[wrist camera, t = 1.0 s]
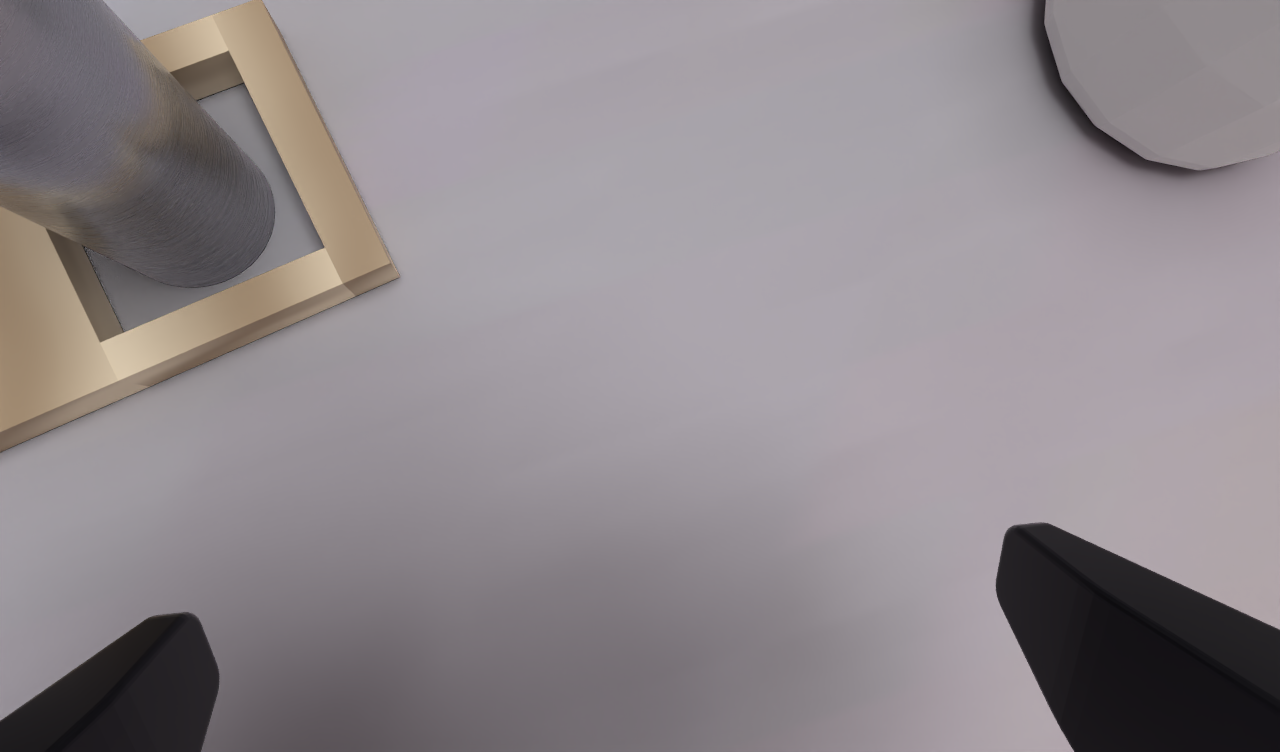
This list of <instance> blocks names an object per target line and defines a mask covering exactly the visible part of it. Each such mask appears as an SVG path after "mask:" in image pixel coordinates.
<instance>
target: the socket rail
mask: <svg viewBox="0 0 1280 752" xmlns="http://www.w3.org/2000/svg"><path fill="white" fill-rule="evenodd" d="M140 41H141V42H142V43H143V44H144V45H145V47H146V48H147V49H148V50H149V51H150V52H151V53H152V54H153V55H154V56H155V57H156V58H157V59H158V60H159V62H160V63H161V64H162V65H163V66H164V67H165V68H166V69H167V70H168V71H169V72H170V73H171V74H172V75H173V77H174V78H175V79H176V80H177V81H178V82H179V83H180V84H181V85H182V86H183V87H184V88H185V89H186V91H187V92H188V93H189V94H190V95H191V96H192V97H193V98H194V99H195V100H198V99H201V98H204V97H206V96H209V95H212V94H214V93H217V92H220V91H222V90H225V89H228V88H230V87H233V86H236V85H238V84H241V83H245V85H246V87H247V89H248V91H249V93H250V95H251V97H252V99H253V101H254V103H255V105H256V107H257V109H258V111H259V113H260V115H261V117H262V120H263V122H264V124H265V126H266V128H267V130H268V132H269V134H270V136H271V138H272V140H273V142H274V144H275V146H276V148H277V150H278V152H279V154H280V156H281V158H282V160H283V163H284V165H285V167H286V169H287V171H288V173H289V175H290V177H291V179H292V181H293V183H294V185H295V187H296V189H297V191H298V193H299V195H300V197H301V199H302V201H303V204H304V206H305V208H306V210H307V212H308V214H309V216H310V218H311V220H312V222H313V224H314V226H315V228H316V230H317V232H318V234H319V236H320V238H321V240H322V242H323V245H324V247H325V248H323V249H320V250H318V251H316V252H313V253H311V254H308V255H306V256H304V257H301V258H299V259H297V260H294V261H292V262H290V263H287V264H285V265H282V266H280V267H278V268H275V269H273V270H271V271H268V272H266V273H263V274H261V275H259V276H256V277H254V278H252V279H249V280H247V281H245V282H242V283H240V284H237V285H235V286H233V287H230V288H228V289H226V290H223V291H221V292H219V293H216V294H214V295H211V296H209V297H207V298H204V299H202V300H200V301H197V302H195V303H193V304H190V305H188V306H185V307H183V308H181V309H178V310H176V311H174V312H171V313H169V314H167V315H164V316H162V317H159V318H157V319H155V320H152V321H150V322H148V323H145V324H143V325H141V326H138V327H136V328H133V329H131V330H129V331H126V332H123V330H122V328H121V326H120V324H119V322H118V320H117V317H116V315H115V313H114V311H113V309H112V307H111V305H110V303H109V301H108V299H107V297H106V294H105V292H104V290H103V288H102V286H101V284H100V282H99V280H98V278H97V276H96V274H95V271H94V269H93V267H92V265H91V263H90V261H89V259H88V257H87V255H86V253H85V251H84V248H83V246H82V245H81V244H79V243H77V242H74V241H72V240H70V239H68V238H66V237H64V236H62V235H60V234H58V233H55V232H53V231H51V230H49V229H47V228H45V227H43V226H41V225H39V224H36V223H34V222H32V221H30V220H28V219H26V218H24V217H22V216H20V215H17V214H15V213H13V212H11V211H9V210H7V209H5V208H3V207H1V206H0V452H2V451H4V450H6V449H9V448H11V447H13V446H15V445H18V444H20V443H22V442H24V441H27V440H29V439H31V438H34V437H36V436H38V435H40V434H43V433H45V432H47V431H50V430H52V429H54V428H56V427H59V426H61V425H63V424H66V423H68V422H70V421H72V420H75V419H77V418H79V417H82V416H84V415H86V414H88V413H91V412H93V411H95V410H98V409H100V408H102V407H104V406H107V405H109V404H111V403H114V402H116V401H118V400H120V399H123V398H125V397H127V396H129V395H132V394H134V393H136V392H139V391H141V390H143V389H145V388H148V387H150V386H152V385H155V384H157V383H159V382H161V381H164V380H166V379H168V378H171V377H173V376H175V375H177V374H180V373H182V372H184V371H187V370H189V369H191V368H193V367H196V366H198V365H200V364H203V363H205V362H207V361H209V360H212V359H214V358H216V357H219V356H221V355H223V354H225V353H228V352H230V351H232V350H234V349H237V348H239V347H241V346H244V345H246V344H248V343H250V342H253V341H255V340H257V339H260V338H262V337H264V336H266V335H269V334H271V333H273V332H276V331H278V330H280V329H282V328H285V327H287V326H289V325H292V324H294V323H296V322H298V321H301V320H303V319H305V318H308V317H310V316H312V315H314V314H317V313H319V312H321V311H324V310H326V309H328V308H330V307H333V306H335V305H337V304H339V303H342V302H344V301H346V300H349V299H351V298H353V297H355V296H358V295H360V294H362V293H365V292H367V291H369V290H371V289H374V288H376V287H378V286H381V285H383V284H385V283H387V282H390V281H392V280H394V279H397V278H399V277H400V275H399V273H398V271H397V269H396V267H395V265H394V263H393V261H392V259H391V257H390V255H389V253H388V251H387V249H386V247H385V245H384V243H383V241H382V239H381V237H380V235H379V233H378V230H377V228H376V226H375V224H374V222H373V220H372V218H371V216H370V214H369V212H368V210H367V208H366V206H365V204H364V202H363V200H362V198H361V196H360V194H359V192H358V190H357V188H356V186H355V184H354V182H353V180H352V177H351V175H350V173H349V171H348V169H347V167H346V165H345V163H344V161H343V159H342V157H341V155H340V153H339V151H338V149H337V147H336V145H335V143H334V141H333V139H332V137H331V135H330V133H329V131H328V129H327V127H326V124H325V122H324V120H323V118H322V116H321V114H320V112H319V110H318V108H317V106H316V104H315V102H314V100H313V98H312V96H311V94H310V92H309V90H308V88H307V86H306V84H305V82H304V80H303V78H302V76H301V74H300V71H299V69H298V67H297V65H296V63H295V61H294V59H293V57H292V55H291V53H290V51H289V49H288V47H287V45H286V43H285V41H284V39H283V37H282V35H281V33H280V31H279V29H278V27H277V26H276V24H275V22H274V20H273V19H272V17H271V15H270V13H269V12H268V10H267V8H266V7H265V5H264V3H263V1H262V0H253V1H250V2H247V3H244V4H241V5H239V6H236V7H233V8H230V9H227V10H225V11H222V12H219V13H216V14H213V15H211V16H208V17H205V18H202V19H199V20H197V21H194V22H191V23H188V24H185V25H183V26H180V27H177V28H174V29H171V30H168V31H166V32H163V33H160V34H157V35H154V36H152V37H149V38H146V39H143V40H140Z"/></svg>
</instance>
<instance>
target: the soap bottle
mask: <svg viewBox="0 0 1280 752" xmlns="http://www.w3.org/2000/svg"><path fill="white" fill-rule="evenodd" d="M1044 24H1045V28H1046V32H1047V35H1048V39H1049V42H1050V45H1051V48H1052V52H1053V55H1054V58H1055V61H1056V65H1057V68H1058V71H1059V74H1060V78H1061V81H1062V83H1063V84H1064V85H1065V87H1066V88H1067V89H1068V91H1069V92H1070V93H1071V95H1072V96H1073V97H1074V99H1075V100H1076V101H1077V103H1078V104H1079V105H1080V107H1081V108H1082V109H1083V111H1084V112H1085V113H1086V115H1087V116H1088V117H1089V119H1090V120H1091V121H1092V123H1093V124H1094V125H1095V126H1096V127H1098V128H1099V129H1101V130H1102V131H1104V132H1105V133H1107V134H1108V135H1110V136H1111V137H1113V138H1114V139H1116V140H1117V141H1119V142H1120V143H1122V144H1123V145H1125V146H1126V147H1128V148H1129V149H1131V150H1132V151H1134V152H1135V153H1137V154H1138V155H1140V156H1141V157H1143V158H1144V159H1146V160H1150V161H1155V162H1160V163H1165V164H1170V165H1175V166H1179V167H1184V168H1189V169H1194V170H1206V169H1212V168H1218V167H1222V166H1226V165H1231V164H1235V163H1239V162H1243V161H1248V160H1252V159H1256V158H1261V157H1265V156H1268V155H1271V154H1273V153H1276V152H1278V151H1280V0H1046V6H1045V20H1044Z"/></svg>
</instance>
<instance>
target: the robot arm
mask: <svg viewBox="0 0 1280 752" xmlns="http://www.w3.org/2000/svg"><path fill="white" fill-rule="evenodd" d="M996 593H997V597H998V600H999V603H1000V606H1001V608H1002V610H1003V612H1004V614H1005V616H1006V618H1007V620H1008V622H1009V624H1010V626H1011V629H1012V631H1013V633H1014V635H1015V637H1016V639H1017V641H1018V643H1019V645H1020V647H1021V649H1022V651H1023V653H1024V656H1025V658H1026V660H1027V662H1028V664H1029V666H1030V668H1031V670H1032V672H1033V674H1034V676H1035V678H1036V680H1037V682H1038V685H1039V687H1040V689H1041V691H1042V693H1043V695H1044V697H1045V699H1046V701H1047V703H1048V705H1049V707H1050V709H1051V711H1052V713H1053V715H1054V717H1055V719H1056V721H1057V723H1058V725H1059V726H1060V728H1061V730H1062V732H1063V733H1064V735H1065V737H1066V738H1067V740H1068V742H1069V744H1070V745H1071V747H1072V749H1073V750H1074V752H1280V630H1279V629H1277V628H1275V627H1273V626H1270V625H1268V624H1266V623H1264V622H1262V621H1260V620H1257V619H1255V618H1253V617H1251V616H1249V615H1247V614H1244V613H1242V612H1240V611H1238V610H1236V609H1234V608H1231V607H1229V606H1227V605H1225V604H1223V603H1220V602H1218V601H1216V600H1214V599H1212V598H1210V597H1207V596H1205V595H1203V594H1201V593H1199V592H1197V591H1194V590H1192V589H1190V588H1188V587H1186V586H1184V585H1181V584H1179V583H1177V582H1175V581H1173V580H1170V579H1168V578H1166V577H1164V576H1162V575H1160V574H1157V573H1155V572H1153V571H1151V570H1149V569H1147V568H1144V567H1142V566H1140V565H1138V564H1136V563H1134V562H1131V561H1129V560H1127V559H1125V558H1123V557H1120V556H1118V555H1116V554H1114V553H1112V552H1110V551H1107V550H1105V549H1103V548H1101V547H1099V546H1097V545H1094V544H1092V543H1090V542H1088V541H1086V540H1084V539H1081V538H1079V537H1077V536H1075V535H1073V534H1071V533H1068V532H1066V531H1064V530H1062V529H1060V528H1058V527H1055V526H1053V525H1051V524H1048V523H1042V522H1041V523H1030V524H1021V525H1014V526H1012V527H1010V528H1009V529H1008V530H1007V531H1006V533H1005V536H1004V540H1003V545H1002V551H1001V556H1000V562H999V567H998V572H997V578H996ZM218 689H219V669H218V666H217V663H216V660H215V658H214V655H213V653H212V650H211V648H210V645H209V643H208V640H207V637H206V635H205V632H204V630H203V627H202V625H201V623H200V621H199V619H198V618H197V617H196V616H195V615H194V614H192V613H189V612H182V613H173V614H163V615H156V616H152V617H150V618H148V619H146V620H144V621H143V622H141V623H140V624H139V625H137V626H136V627H134V628H133V629H131V630H130V631H129V632H127V633H126V634H124V635H123V636H121V637H120V638H119V639H117V640H116V641H114V642H113V643H111V644H110V645H108V646H107V647H106V648H104V649H103V650H101V651H100V652H98V653H97V654H96V655H94V656H93V657H91V658H90V659H88V660H87V661H86V662H84V663H83V664H81V665H80V666H78V667H77V668H75V669H74V670H73V671H71V672H70V673H68V674H67V675H65V676H64V677H63V678H61V679H60V680H58V681H57V682H55V683H54V684H53V685H51V686H50V687H48V688H47V689H45V690H44V691H42V692H41V693H40V694H38V695H37V696H35V697H34V698H32V699H31V700H30V701H28V702H27V703H25V704H24V705H22V706H21V707H20V708H18V709H17V710H15V711H14V712H12V713H11V714H9V715H8V716H7V717H5V718H4V719H2V720H1V721H0V752H201V750H202V746H203V743H204V739H205V736H206V732H207V729H208V725H209V722H210V718H211V715H212V711H213V708H214V704H215V701H216V697H217V693H218Z"/></svg>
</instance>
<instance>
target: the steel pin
mask: <svg viewBox="0 0 1280 752" xmlns="http://www.w3.org/2000/svg"><path fill="white" fill-rule="evenodd" d="M0 206H1V207H3V208H5V209H7V210H9V211H11V212H13V213H15V214H17V215H20V216H22V217H24V218H26V219H28V220H30V221H32V222H34V223H36V224H39V225H41V226H43V227H45V228H47V229H49V230H51V231H53V232H55V233H58V234H60V235H62V236H64V237H66V238H68V239H70V240H72V241H74V242H77V243H79V244H81V245H83V246H85V247H87V248H89V249H91V250H93V251H96V252H98V253H100V254H102V255H104V256H106V257H108V258H110V259H112V260H114V261H117V262H119V263H121V264H123V265H125V266H127V267H129V268H131V269H133V270H136V271H138V272H140V273H142V274H144V275H146V276H148V277H150V278H153V279H155V280H157V281H159V282H162V283H165V284H169V285H173V286H179V287H204V286H210V285H214V284H218V283H221V282H224V281H226V280H228V279H231V278H233V277H234V276H236V275H238V274H239V273H241V272H243V271H244V270H245V269H246V268H248V267H249V266H250V265H251V264H252V263H253V262H254V261H255V260H256V259H257V258H258V257H259V255H260V254H261V253H262V251H263V250H264V248H265V246H266V244H267V243H268V241H269V238H270V235H271V233H272V229H273V225H274V216H275V208H274V200H273V195H272V192H271V189H270V186H269V184H268V182H267V180H266V178H265V176H264V175H263V173H262V172H261V171H260V169H259V168H258V167H257V166H256V165H255V164H254V162H253V161H252V160H251V159H250V158H249V157H248V156H247V155H246V154H245V153H244V152H243V151H242V150H241V149H240V147H239V146H238V145H237V144H236V143H235V142H234V141H233V140H232V139H231V138H230V137H229V136H228V135H227V133H226V132H225V131H224V130H223V129H222V128H221V127H220V126H219V125H218V124H217V123H216V122H215V121H214V120H213V118H212V117H211V116H210V115H209V114H208V113H207V112H206V111H205V110H204V109H203V108H202V107H201V106H200V104H199V103H198V102H197V101H196V100H195V99H194V98H193V97H192V96H191V95H190V94H189V93H188V92H187V91H186V89H185V88H184V87H183V86H182V85H181V84H180V83H179V82H178V81H177V80H176V79H175V78H174V77H173V75H172V74H171V73H170V72H169V71H168V70H167V69H166V68H165V67H164V66H163V65H162V64H161V63H160V62H159V60H158V59H157V58H156V57H155V56H154V55H153V54H152V53H151V52H150V51H149V50H148V49H147V48H146V47H145V45H144V44H143V43H142V42H141V41H140V40H139V39H138V38H137V37H136V36H135V35H134V34H133V33H132V31H131V30H130V29H129V28H128V27H127V26H126V25H125V24H124V23H123V22H122V21H121V20H120V19H119V18H118V16H117V15H116V14H115V13H114V12H113V11H112V10H111V9H110V8H109V7H108V6H107V5H106V4H105V2H104V1H103V0H0Z"/></svg>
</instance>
